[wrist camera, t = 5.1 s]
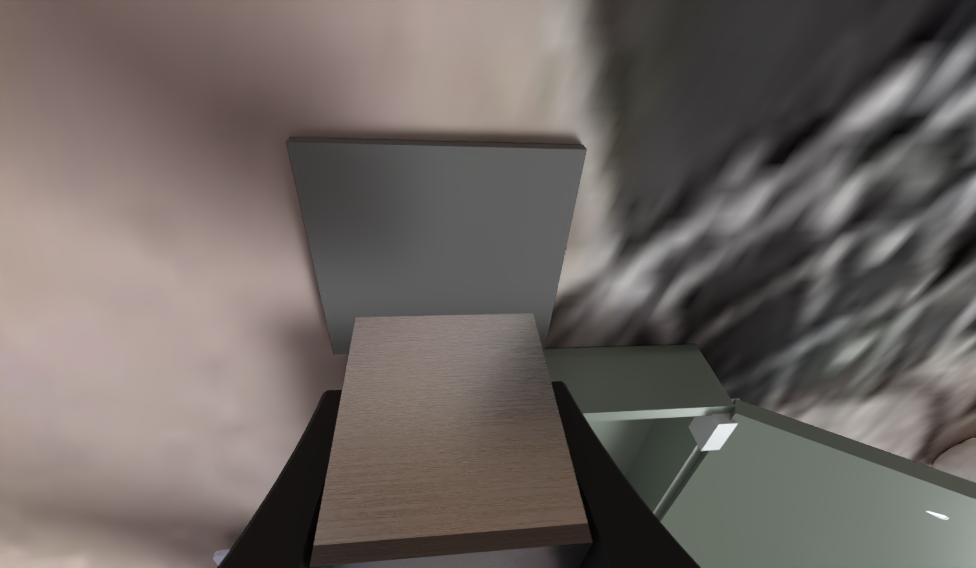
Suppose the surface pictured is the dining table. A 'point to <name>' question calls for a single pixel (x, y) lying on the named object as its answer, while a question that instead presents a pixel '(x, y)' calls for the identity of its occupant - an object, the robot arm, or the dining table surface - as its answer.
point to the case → (760, 471)
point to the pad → (435, 226)
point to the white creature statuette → (959, 460)
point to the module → (449, 451)
